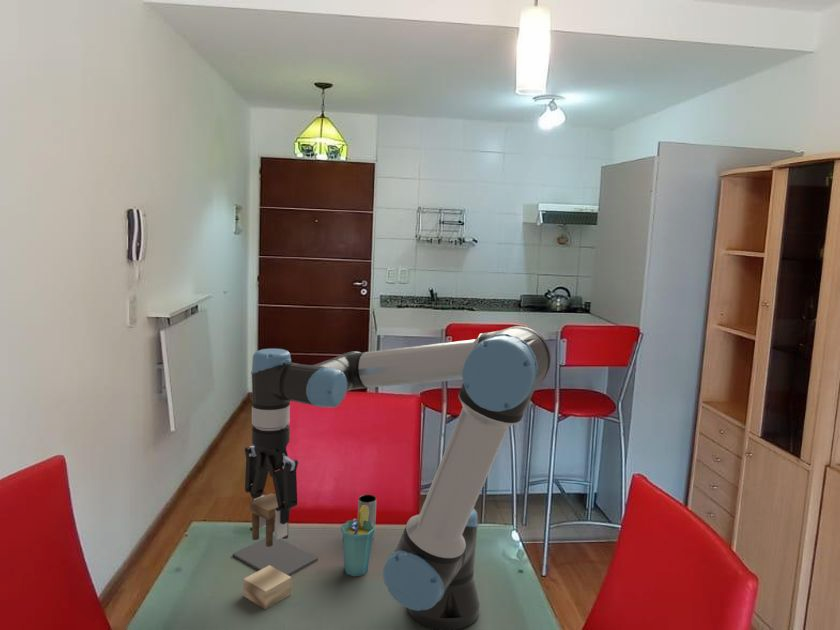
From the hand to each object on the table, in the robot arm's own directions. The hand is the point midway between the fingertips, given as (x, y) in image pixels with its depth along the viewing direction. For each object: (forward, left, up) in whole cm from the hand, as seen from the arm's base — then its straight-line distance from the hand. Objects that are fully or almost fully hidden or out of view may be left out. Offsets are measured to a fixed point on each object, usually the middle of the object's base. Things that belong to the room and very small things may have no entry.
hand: (270, 531), depth 134 cm
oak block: (0, 0, -15) cm, 15 cm away
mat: (+10, -11, -15) cm, 21 cm away
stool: (0, 0, -1) cm, 1 cm away
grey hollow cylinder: (+1, -33, -15) cm, 36 cm away
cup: (-8, -19, -15) cm, 25 cm away
